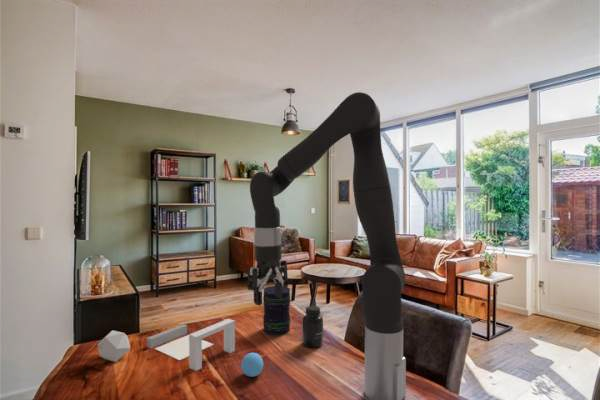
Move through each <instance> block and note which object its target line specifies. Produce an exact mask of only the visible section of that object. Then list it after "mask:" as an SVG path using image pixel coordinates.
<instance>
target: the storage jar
mask: <svg viewBox="0 0 600 400" xmlns="http://www.w3.org/2000/svg"><path fill="white" fill-rule="evenodd" d="M290 292H291V289H290V288H289V287H288V286H284V285H283V293H282V297H280V298H279V297H276V296H275V285H273V286H267V287H265V288H263V295H262V305H263V308H264V309H263V311H264V312H263V317H262V319H263V322H262V324H263V332H264V334H266V335H269V336H276V337H277V336H283V335H286V334H288V333H290V331H291V328H290V326H291V314H290V305H291V293H290Z"/></svg>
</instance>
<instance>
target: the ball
mask: <svg viewBox="0 0 600 400" xmlns="http://www.w3.org/2000/svg"><path fill="white" fill-rule="evenodd" d="M240 366H241V368H240V369H241V370H242V372H243V374H244V375H245V376H247V377H251V378H253V377H256V376H258V375H259V374H260V373H262V371H263V369H264V360H263V358H262V356H261V355H260V354H258V353H256V352H250V353H247V354H246V355H244V357H243V358H242V360H241V363H240Z"/></svg>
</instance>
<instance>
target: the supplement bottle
mask: <svg viewBox="0 0 600 400" xmlns="http://www.w3.org/2000/svg"><path fill="white" fill-rule="evenodd" d="M323 342H324V317H323V316H322V315H321V308H320V306H317V305H310V306H306V307H305V315H304V316H303V318H302V344H303V346H305V347H306V348H311V349H315V348H317V349H318V348H319V347H321V346H323Z"/></svg>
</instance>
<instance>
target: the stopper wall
mask: <svg viewBox="0 0 600 400" xmlns="http://www.w3.org/2000/svg"><path fill="white" fill-rule="evenodd" d="M187 335H188V324H180V325H178V326H175V327H173V328H169V329H167V330H164V331H162V332H159V333H157V334H154V335H151V336H148V337H146V346H147V348H149V349H153V348H157V347H159V346H162V345H164V344H167V343H169V342H172V341H174V340H177V339H179V338H182V337H184V336H187Z"/></svg>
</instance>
